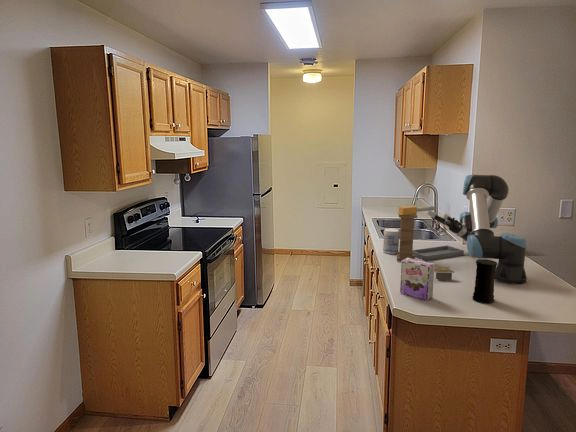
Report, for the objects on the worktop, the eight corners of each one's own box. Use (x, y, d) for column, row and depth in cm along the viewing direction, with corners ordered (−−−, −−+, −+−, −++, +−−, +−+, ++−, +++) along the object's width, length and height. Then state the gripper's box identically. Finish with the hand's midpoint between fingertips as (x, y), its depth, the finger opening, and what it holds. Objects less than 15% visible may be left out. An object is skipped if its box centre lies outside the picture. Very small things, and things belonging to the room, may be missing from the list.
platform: (422, 275, 221) (423, 264, 220) (457, 276, 220) (458, 264, 219) (428, 283, 210) (429, 271, 208) (465, 284, 208) (465, 271, 207)
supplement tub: (387, 255, 259) (388, 232, 256) (380, 251, 268) (381, 228, 265) (401, 253, 262) (402, 231, 259) (393, 249, 271) (394, 227, 268)
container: (487, 296, 192) (491, 258, 188) (498, 303, 183) (501, 264, 179) (468, 296, 191) (471, 258, 188) (478, 304, 183) (481, 264, 179)
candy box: (399, 293, 196) (401, 259, 193) (405, 290, 200) (407, 257, 197) (426, 301, 186) (429, 265, 183) (433, 297, 190) (435, 263, 187)
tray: (425, 261, 246) (425, 256, 246) (409, 255, 259) (410, 250, 258) (463, 255, 258) (464, 250, 257) (446, 249, 270) (447, 245, 270)
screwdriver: (402, 215, 240) (403, 208, 239) (398, 213, 244) (398, 207, 243) (435, 211, 249) (435, 205, 249) (430, 210, 253) (431, 204, 252)
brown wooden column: (414, 262, 243) (417, 215, 238) (397, 261, 245) (399, 215, 240) (413, 257, 253) (415, 212, 248) (396, 257, 255) (398, 212, 250)
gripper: (470, 237, 250) (447, 222, 241) (440, 229, 273) (418, 215, 264) (475, 226, 250) (453, 211, 242) (445, 219, 273) (424, 205, 264)
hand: (435, 213), depth 253 cm, fingers open, 13 cm apart
